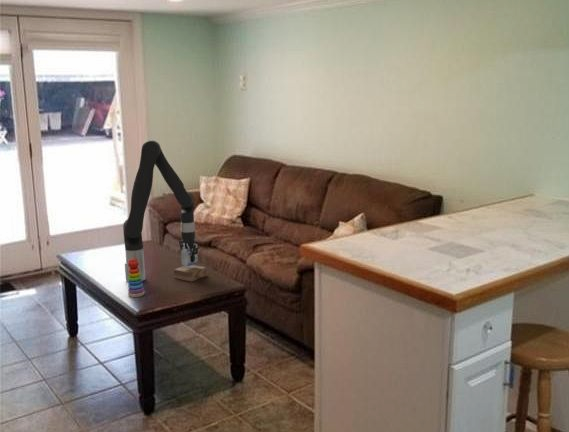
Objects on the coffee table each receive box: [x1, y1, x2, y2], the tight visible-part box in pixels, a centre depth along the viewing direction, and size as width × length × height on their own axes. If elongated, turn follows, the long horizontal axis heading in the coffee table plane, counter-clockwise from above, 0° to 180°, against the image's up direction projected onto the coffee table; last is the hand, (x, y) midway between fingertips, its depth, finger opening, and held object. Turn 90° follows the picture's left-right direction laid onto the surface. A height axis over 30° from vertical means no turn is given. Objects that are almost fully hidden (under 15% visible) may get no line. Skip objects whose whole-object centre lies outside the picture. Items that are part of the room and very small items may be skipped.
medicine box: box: [180, 248, 199, 266], centre depth 323 cm, size 8×4×9 cm, turn 143°
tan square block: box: [173, 264, 207, 283], centre depth 325 cm, size 12×12×5 cm
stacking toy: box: [127, 258, 145, 298], centre depth 296 cm, size 8×8×19 cm
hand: (189, 260), depth 324 cm, fingers closed on medicine box, 4 cm apart
